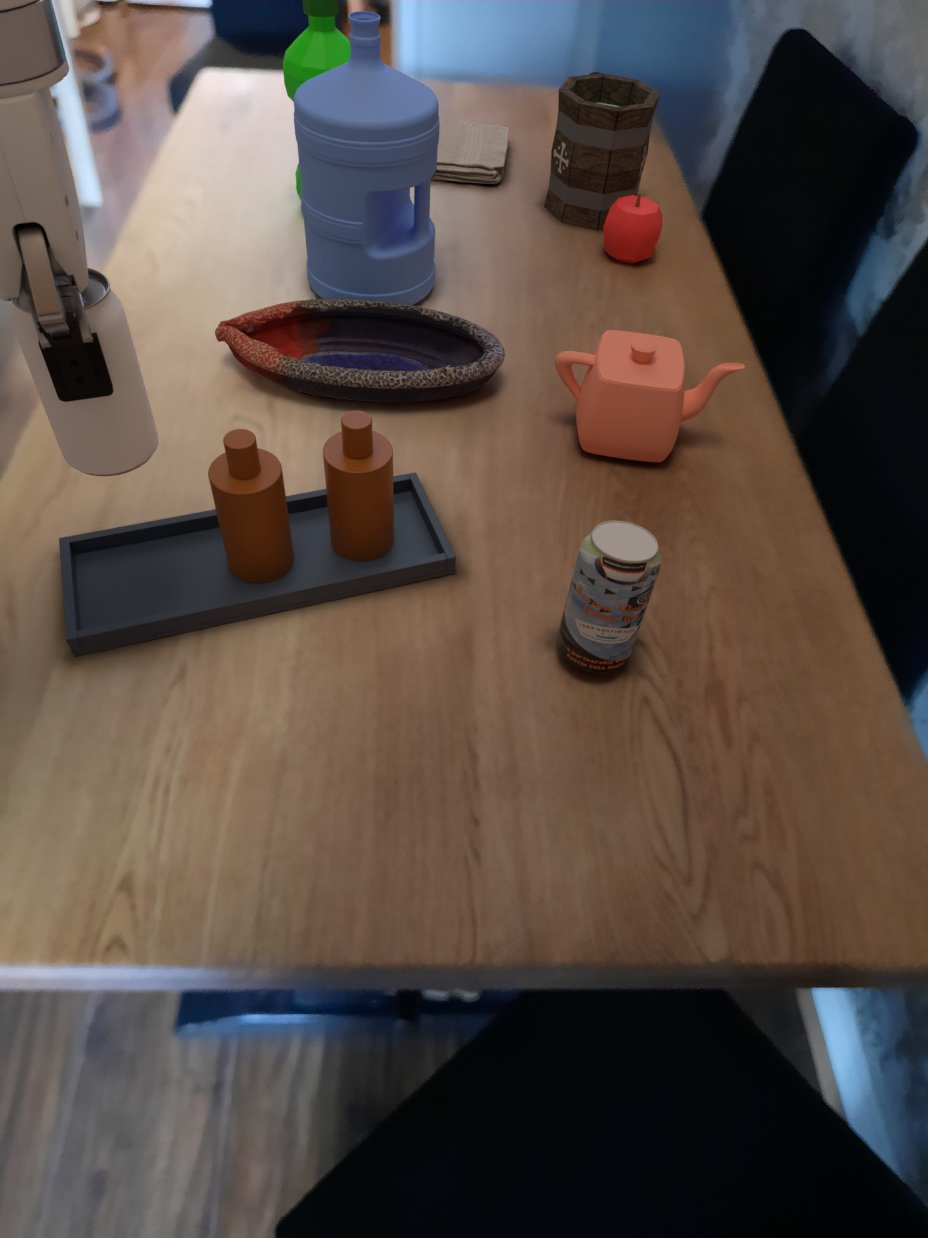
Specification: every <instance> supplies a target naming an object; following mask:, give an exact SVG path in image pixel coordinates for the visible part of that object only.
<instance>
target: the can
mask: <svg viewBox="0 0 928 1238" xmlns="http://www.w3.org/2000/svg"><path fill="white" fill-rule="evenodd" d="M55 276H56V280H57V284H58V285H65V284H70V283H69V280H68V276H67V274H66V273H64V274H55ZM88 277H89V284H88V286H87V287H86V289H85V290H84V291H83V292H82V293H81V296H82V299H83V303H84V307H85V310H86V314H87V318H88V322H89V325H90V329H91V333H96V332H97V335H98V338H99V342H100V345H101V348H102V351H103V355H104V358H105V361H106V365H107V368H108V371H109V375H110V378H111V381H112V384H113V393H112V395H110V396H104V397H97V398H90V399H83V400H76V401H69V402H63V401H61V400H59V398H58V396H57V393H56V391H55V388H54V385H53V382H52V380H51V377H50V374H49V371H48V369H47V366H46V363H45V360H44V358H43V355H42V352H41V349H40V347H39V342H38V340H39V338H38V334H37V331H36V328H35V324H34V321H33V318H32V314H31V311H30V307H29V304H28V301H27V298H26V296H25V291H24V287H23V284H22V280H21V284H20V294H19V298H11V301H10V302H11V303H12V304H13V306H12V313H11V323H12V327H13V329H14V333H15V335H16V339H17V340H18V344H19V346H20V348H21V349H20V350H21V352H22V354H23V357H24V360H25V362H26V365H27V367H28V370H29V373H30V375H31V378H32V380H33V383H34V385H35V388H36V390H37V394H38V396H39V399H40V401H41V404H42V406H43V409H44V412H45V414H46V416H47V420H48V422H49V424H50V427H51V430H52V432H53V435H54V438H55V440H56V443H57V446H58V448H59V450H60V452H61V455H62V457H63V459H64V461H65V462H66V464H67V465H69V466H70V467H71V468H72V469H74V470H77V471H79V472H80V473H83V474H86V475H89V476H94V477H114V476H115V477H116V476H119V475H124V474H127V473H130V472H132V471H135V470H137V469H138V468H141V467H142V466H143V465H145V464H146V463H147V462H148V461H149V460H150V459H151V458H152V457H153V455H154V454H155V452H156V450H157V449H158V446H159V441H160V439H159V434H158V430H157V426H156V421H155V417H154V415H153V410H152V407H151V406H152V405H151V404H150V403H151V402H150V399H149V396H148V390H147V388H146V384H145V381H144V377H143V373H142V370H141V366H140V362H139V358H138V355H137V351H136V347H135V344H134V339H133V337H132V332H131V329H130V325H129V322H128V319H127V315H126V312H125V309H124V305H123V303H122V301H121V299H120V298H119V297H118V296H117V294H116V293H115V292H114V291H113V290H112V289H111V283H110V280H109V279H108V278H107V276H106V275H105V274H103V273H102V272H100V271H99V270H96V269H93V268H90V267H88ZM61 300H62V303H63V306H64V308H65V311H66V312H72V314H73V315H74V317H76V316H75V312H74V309H73V305H72V302H71V298H70V297H63V298H61Z"/></svg>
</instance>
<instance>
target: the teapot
mask: <svg viewBox="0 0 928 1238" xmlns="http://www.w3.org/2000/svg"><path fill="white" fill-rule="evenodd" d="M554 365H555V370H556V373H557V374H558V376H559V378H560V380H561V382H562V384H564V386H565V387H566V389H567V390H568V391H569V392H570V393H571V395H572V396H573V397H574V398H575V400H576V407H575V421H576V422H575V423H576V429H577V436H578V437H577V438H578V441H579V445H580V447H581V449H582V450H583V451H585V452H586V453H589V454H593V455H597V456H598V455H599V456H605V457H610V458H616V459H623V460H629V461H630V460H631V461H637V462H638V461H639V462H648V463H661V462H663V461H664V460H666V458H667V457H668V456H669V455H670V453H671V452H672V450H673V449H674V447H675V444H676V442H677V439H678V435H679V431H680V427H681V423H684V422H687V421H690V420H691V419H693V418H694V417H696V416H698V415H699V414H700V413H701V412H703V410H704V408H706V406H707V404H708V403H709V401H710V400H711V397H712V396H713V395H714V392H715V390H716V389H717V387H718V385H719V384H720V383H721V382H722V381H723V379H724V378H727V376H729V375H730V374H733V373H736V372H737V371H741V370H743V369H745V368H746V365H745V364H743V363H740V362H724V363H720V364H717V365H716V366H714V367H713V368H712V369H711V370H709V371H708V373H707V374H706V375H705V376H704V378H703V379H702V380H701V382H700V383H698V385H697V386H695V387H693V388H692V389H691V388H690V389H687V390H686V389H685V388H686V387H685V384H686V380H685V379H686V374H685V373H686V372H685V370H686V369H685V358H684V352H683V349H682V345H681V343H680V342H679V340H677V339H676V338H673V337H668V336H663V335H657V334H656V335H655V334H649V333H642V332H634V331H627V330H618V329H608V330H605V331H604V332H603V334H602V335H601V337H600V338H599V340H598V343H597V345H596V347H595V350H594V351H593V353H588V352H584V351H583V352H582V351H577V350H576V351H575V350H564V351H561V352H559V353H558V354H556V357H555V359H554ZM572 365H583V366H587V368H586V370H585V372H584V376H583V379H582V382H581V385H579V383H578V381H577V380H576V377H575V375H574V372H573V368H572Z"/></svg>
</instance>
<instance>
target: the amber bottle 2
mask: <svg viewBox="0 0 928 1238" xmlns="http://www.w3.org/2000/svg"><path fill="white" fill-rule="evenodd" d="M340 426H341V431H339V432H337V433H335V434H333V435H332V436H330V437H329V438H328V439H327V440H326V442H325V444H324V445H323V447H322V458H323V469H324V470H323V471H324V481H325V489H326V493H327V505H328V516H329V527H330V538H331V545H332V547H333V549H334V550H335V551H336V552H337V553H338V554H339V555H340V556H342V557H344V558H346V559H348V560H352V561H358V562H365V561H372V560H375V559H378V558H380V557H382V556H384V555H385V554H386V553H387V552H388V551H389V550H390V549H391V547H392V545H393V542H394V499H393V476H394V449H393V444H392V443H391V441H390V440H389V439H388V438H387V437H386V436H385V435H383V434H381V433H380V432H377V431H374V430H373V418H372V416H371V414H370V413H368V412H366V411H364V410H350V411H347V412H345V413H344V414H343V415H342V416H341V418H340Z"/></svg>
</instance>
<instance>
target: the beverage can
mask: <svg viewBox="0 0 928 1238" xmlns="http://www.w3.org/2000/svg"><path fill="white" fill-rule="evenodd" d="M578 549H579V550H578V553H577V557H576V561H575V565H574V569H573V573H572V577H571V581H570V584H569V589H568V592H567V596H566V600H565V604H564V607H563V608H564V609H563V611H562V616H561V619H560V622H559V627H558V631H557V634H556V646H557V649H558V651H559V653H560V654H561V656H562V657H563V658H564V659H565V660H566V661H567V662H568V663H570V664H571V665H573V666H575V667H576V668H577V669H580V670H583V671H586V672H590V673H597V674H606V673H607V674H608V673H611V672H612V673H613V672H616V671H617V670H620V669H622V668H623V667H624V666H625V665H626V664H627V663H628V662H629V659H630V657H631V655H632V651H633V648H634V645H635V643H636V640H637V637H638V635H639V631H640V628H641V625H642V622H643V620H644V617H645V614H646V610H647V608H648V605H649V603H650V599H651V596H652V593H653V590H654V587H655V584H656V582H657V578H658V577H659V573H660V569H661V566H662V562H661V561H662V560H661V555H660V553H659V543H658V540H657V538H656V537H655V536H654V535H653V534H652V533H651V532H650V531H649V530H647V529H646V528H644V527H643V526H640V525H638V524H635V523H632V522H629V521H625V520H606V521H603V522H600V523H599V524H597V525H596V526H595V527H594V528H593V529H592V531H591V532H590V533H589V534H588V535H586V536H585V537H584V538H583V540H582V541H581V544H580V546H579V548H578Z"/></svg>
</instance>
